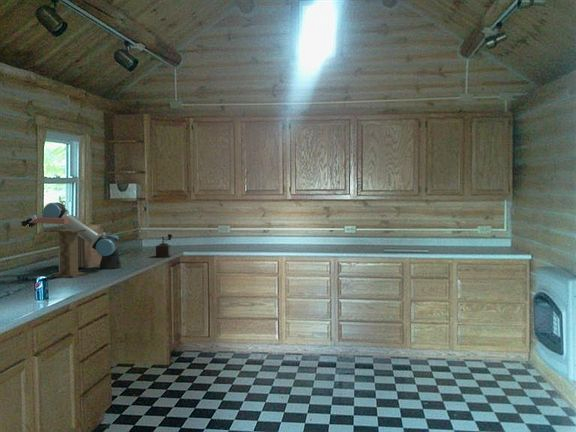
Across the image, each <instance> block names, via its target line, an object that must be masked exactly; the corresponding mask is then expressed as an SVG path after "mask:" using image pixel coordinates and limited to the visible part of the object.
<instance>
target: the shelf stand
mask: <svg viewBox="0 0 576 432" xmlns="http://www.w3.org/2000/svg"><path fill="white" fill-rule="evenodd" d="M83 231H86V230H82V229H68V228H60V229H52V230H50V233H58V242H59V243H58V244H59V246H58V247H59V248H58V250H59V252H58V254H59V253H60V271H59V272H57V273H56V272H55V273H52V274H51V277H55V278H69V279H77V278H79V277H83V276H87V272H81V271H79V268H78V232H83Z"/></svg>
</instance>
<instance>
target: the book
mask: <svg viewBox="0 0 576 432" xmlns="http://www.w3.org/2000/svg"><path fill="white" fill-rule="evenodd" d="M85 225H86V226H88V227H89V228H90V229H92V230H93V231H95V232H96V233H98V234H103V235H104V223H88V224H85ZM101 258H102V255H100V254H99V253H98V252H97V251H96V250H95V249H94V248H92V246H91V244H90V243H89V242H87V241H86V240H84V239H83V238H81V237H80V236H78V269H80V268H81V269H85V268H86V269H89V268H93V267H96V266H99V264H100V261H101Z"/></svg>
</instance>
